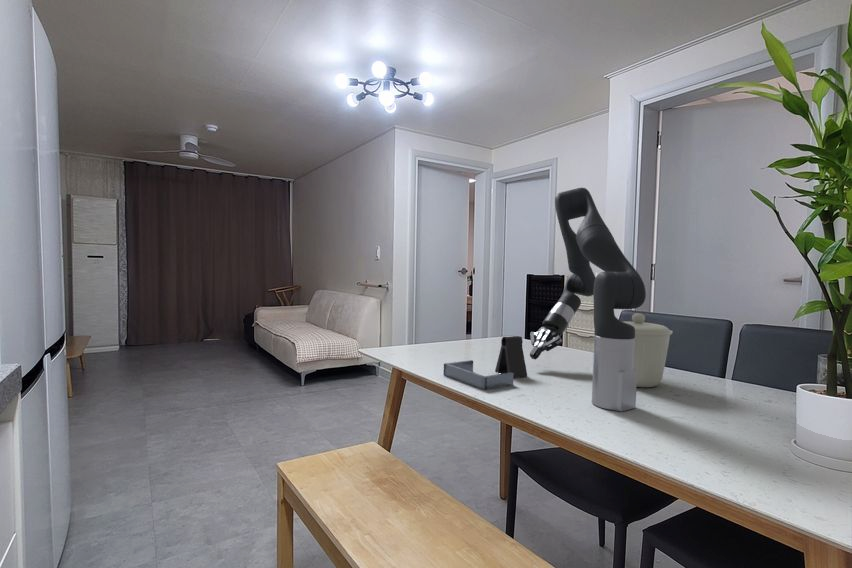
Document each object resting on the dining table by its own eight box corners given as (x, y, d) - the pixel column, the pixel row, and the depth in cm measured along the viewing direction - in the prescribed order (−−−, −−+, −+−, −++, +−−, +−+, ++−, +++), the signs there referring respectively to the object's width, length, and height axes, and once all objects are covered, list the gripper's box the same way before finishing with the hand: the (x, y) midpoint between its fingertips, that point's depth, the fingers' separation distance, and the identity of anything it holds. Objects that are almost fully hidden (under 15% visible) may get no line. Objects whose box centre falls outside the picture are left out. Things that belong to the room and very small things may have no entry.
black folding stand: (527, 377, 134) (528, 338, 133) (511, 378, 131) (512, 339, 131) (510, 370, 142) (511, 334, 142) (495, 371, 140) (496, 334, 139)
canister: (592, 381, 130) (595, 312, 129) (618, 372, 142) (621, 309, 141) (656, 395, 117) (659, 318, 116) (679, 384, 129) (682, 314, 128)
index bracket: (513, 384, 124) (513, 372, 124) (484, 390, 118) (484, 377, 118) (471, 370, 140) (471, 360, 140) (443, 374, 134) (443, 363, 134)
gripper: (538, 309, 152) (512, 346, 146) (569, 313, 141) (542, 354, 135) (548, 323, 155) (523, 360, 149) (579, 328, 144) (553, 369, 138)
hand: (532, 357), depth 142 cm, fingers closed
